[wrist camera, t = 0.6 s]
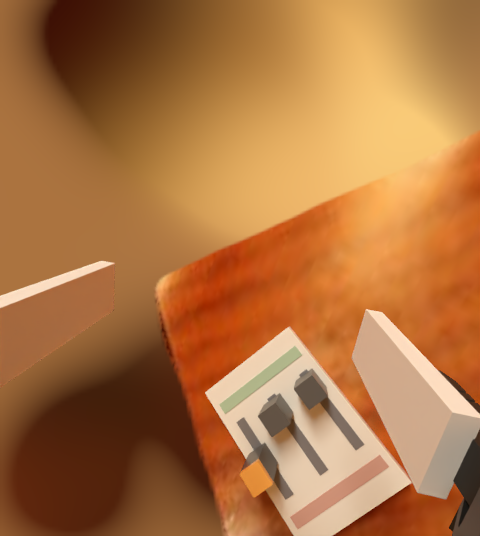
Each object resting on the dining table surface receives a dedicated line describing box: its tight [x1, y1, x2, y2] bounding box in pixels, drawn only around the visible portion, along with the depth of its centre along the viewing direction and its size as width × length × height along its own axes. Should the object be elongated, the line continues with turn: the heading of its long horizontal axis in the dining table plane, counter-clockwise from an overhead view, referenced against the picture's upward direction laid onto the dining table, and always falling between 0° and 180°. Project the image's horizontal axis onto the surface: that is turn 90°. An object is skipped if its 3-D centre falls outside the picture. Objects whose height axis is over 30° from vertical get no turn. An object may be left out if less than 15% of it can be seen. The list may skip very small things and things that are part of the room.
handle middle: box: [258, 393, 293, 437], centre depth 36 cm, size 3×3×4 cm
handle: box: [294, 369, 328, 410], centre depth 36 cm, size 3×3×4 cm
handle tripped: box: [240, 442, 278, 498], centre depth 36 cm, size 3×3×5 cm
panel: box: [205, 326, 412, 536], centre depth 39 cm, size 24×17×2 cm
